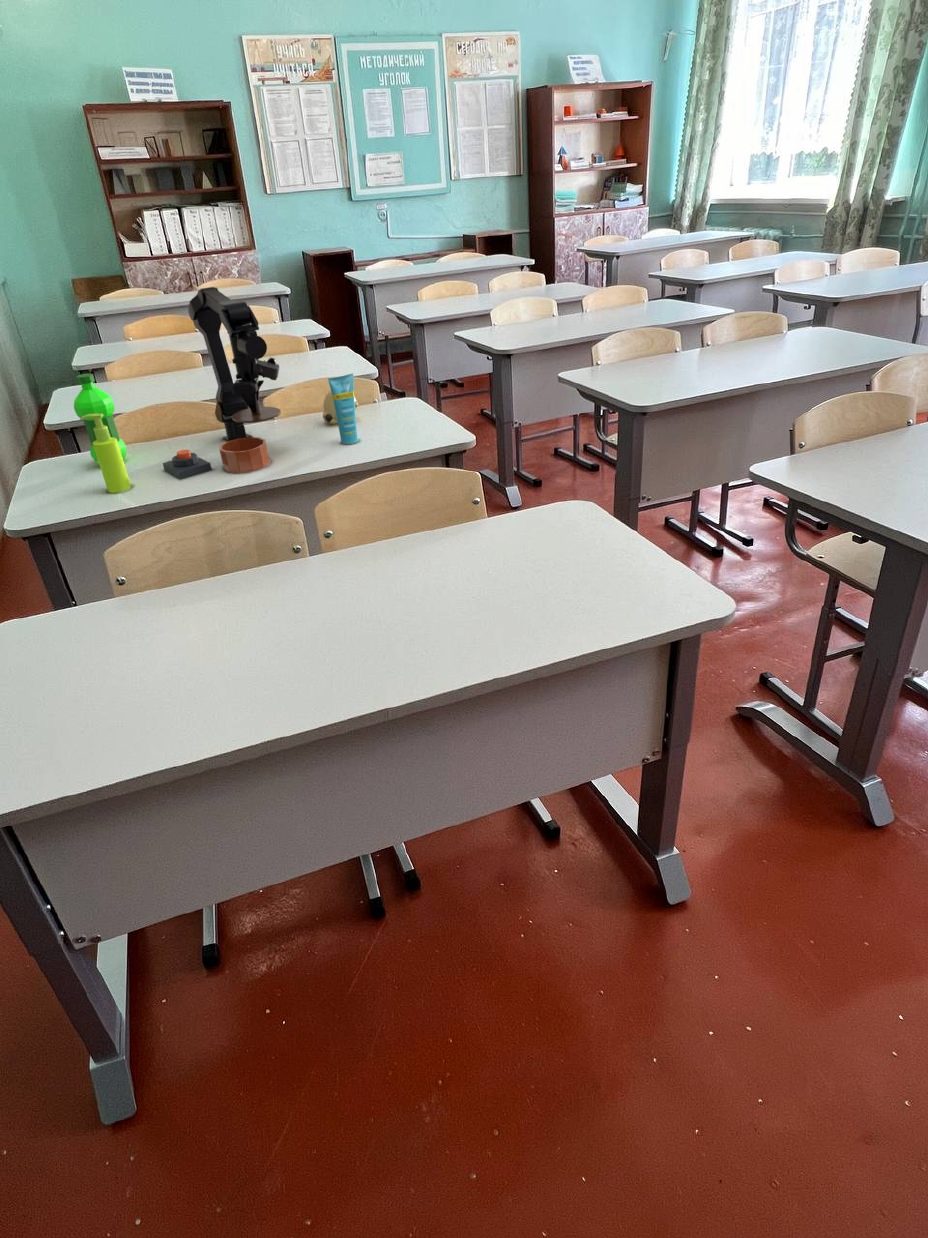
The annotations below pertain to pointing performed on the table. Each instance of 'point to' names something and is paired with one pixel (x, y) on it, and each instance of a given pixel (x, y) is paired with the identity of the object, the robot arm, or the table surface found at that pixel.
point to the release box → (187, 466)
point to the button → (183, 454)
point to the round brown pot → (244, 455)
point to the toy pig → (331, 409)
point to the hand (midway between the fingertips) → (255, 410)
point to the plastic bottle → (96, 410)
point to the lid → (256, 414)
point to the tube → (344, 407)
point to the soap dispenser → (109, 457)
